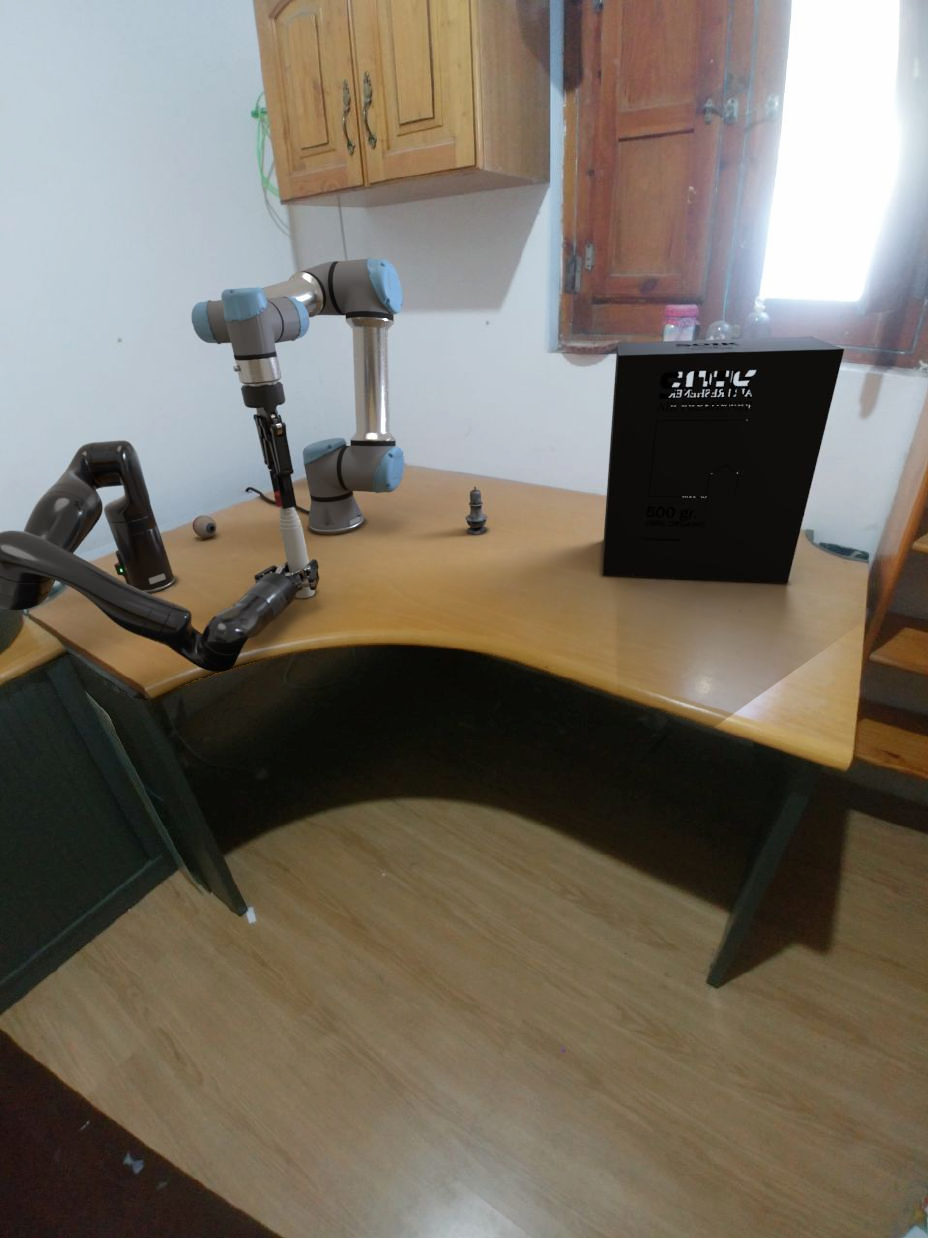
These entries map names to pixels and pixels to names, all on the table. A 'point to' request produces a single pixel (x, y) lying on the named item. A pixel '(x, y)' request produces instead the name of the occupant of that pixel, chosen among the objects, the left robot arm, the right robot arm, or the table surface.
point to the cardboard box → (714, 456)
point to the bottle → (294, 545)
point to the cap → (278, 499)
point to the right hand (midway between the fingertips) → (286, 503)
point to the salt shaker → (476, 514)
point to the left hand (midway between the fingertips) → (305, 562)
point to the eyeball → (204, 526)
